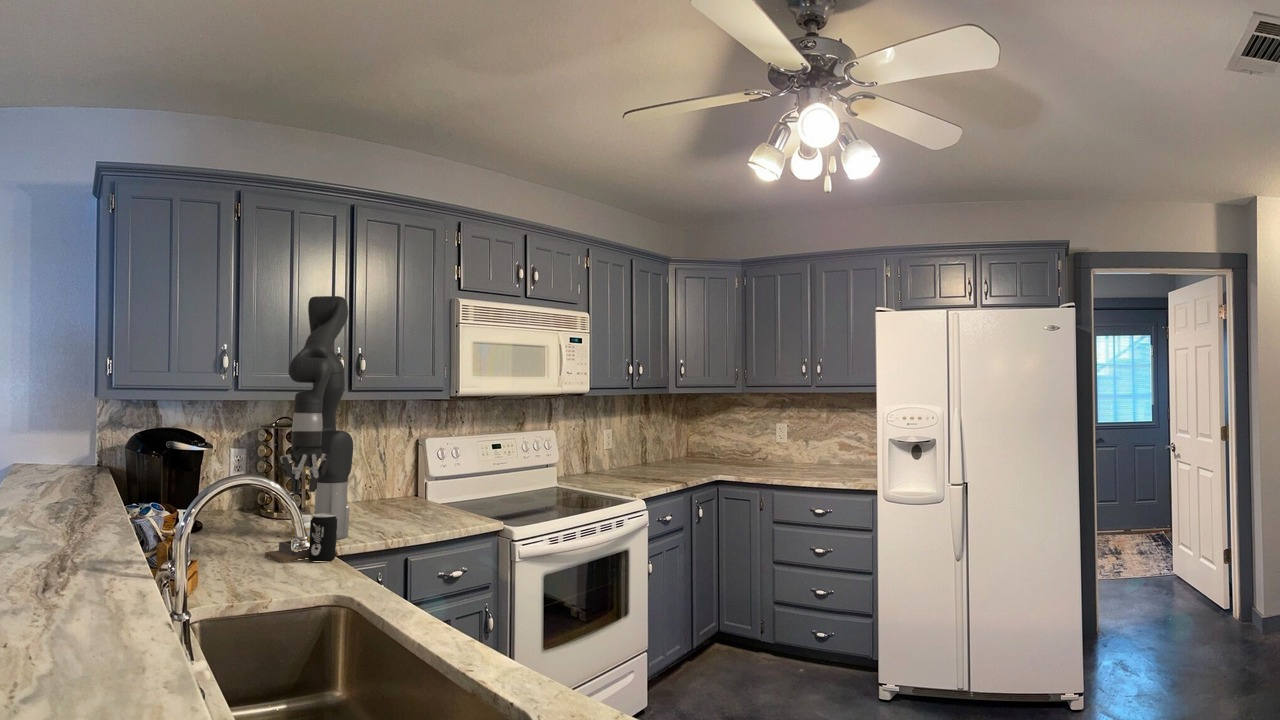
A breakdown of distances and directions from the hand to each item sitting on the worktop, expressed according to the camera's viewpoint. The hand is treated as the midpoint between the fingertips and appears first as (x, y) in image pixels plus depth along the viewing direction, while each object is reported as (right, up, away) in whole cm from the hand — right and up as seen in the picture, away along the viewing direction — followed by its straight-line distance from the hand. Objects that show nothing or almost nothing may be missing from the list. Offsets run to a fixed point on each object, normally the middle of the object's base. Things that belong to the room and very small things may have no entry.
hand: (303, 492), depth 192 cm
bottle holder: (0, -17, -1) cm, 17 cm away
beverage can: (+8, -17, -6) cm, 20 cm away
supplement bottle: (0, -16, -1) cm, 16 cm away
